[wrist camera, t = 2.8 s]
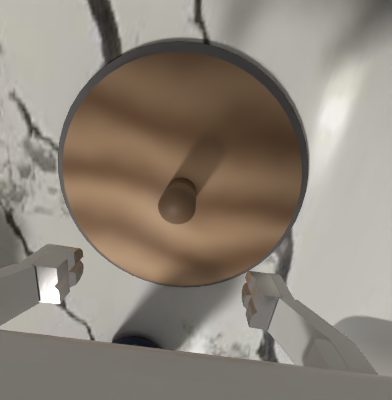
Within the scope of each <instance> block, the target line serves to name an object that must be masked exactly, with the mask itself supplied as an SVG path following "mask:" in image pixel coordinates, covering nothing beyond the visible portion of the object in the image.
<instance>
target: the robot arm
mask: <svg viewBox="0 0 392 400" xmlns="http://www.w3.org/2000/svg"><path fill="white" fill-rule="evenodd" d="M82 257H83V251H82V250H81V249H80V248H73V247H67V246H59V245H53V244H47V245H45V246H44V247H42V248H41V249H39V250H38V251H36V252H35V253H33V254H32V255H31V256H29V257H28V258H26V259H25V260H23V261H22V262H20V263H19V264H12V265H8V266H5V267H2V268H0V326H1V325H2V324H4V323H6V322H7V321H9V320H11V319H13V318H14V317H16V316H18V315H19V314H21V313H23V312H24V311H26V310H28V309H30V308H31V307H33V306H35V305H36V304H38V303H39V302H48V303H59V304H60V303H61V302H62V300H63V299H64V298H65V297H66V296H67V295H68V293H69V292H70V287H72V286H74V285H76V284H77V283H78V281H79V280H80V278H81V276H82V274H83V263H82V262H81V261H80V259H81V258H82ZM245 278H246V281H247V283H245V284H244V285H243V289H242V302H243V306H244V307H245V308H246V309H247V310H246V318H247V321H248V325H249V327H251V328H258V329H264V330H268V332H269V333H270V334H271V336H272V337H273V338H274V339H275V341H276V342H277V343H278V344H279V345H280V347H281V348H282V349H283V350H284V352H285V353H286V354H287V355H288V357H289V358H290V359H291V360H292V361H293V363H294V364H295V365H291V364H283V363H275V362H266V361H258V360H249V359H241V358H232V357H224V356H216V355H208V354H200V353H191V352H183V351H175V350H167V349H158V348H150V347H141V346H133V345H125V344H116V343H108V342H100V341H91V340H83V339H75V338H66V337H58V336H50V335H41V334H33V333H24V332H16V331H8V330H0V400H392V377H391V376H382V375H378V373H377V372H376V371H375V369H374V368H373V367H372V366H371V364H370V363H369V362H368V360H367V359H366V357H365V356H364V355H363V353H362V352H361V351H360V349H359V348H358V347H357V345H356V344H355V343H354V342H353V341H352V340H350V339H349V338H347V337H346V336H345V335H343V334H342V333H341V332H339V331H338V330H337V329H336V328H334V327H333V326H332V325H330V324H329V323H328V322H326V321H325V320H324V319H322V318H321V317H320V316H318V315H317V314H316V313H314V312H313V311H312V310H310V309H309V308H308V307H306V306H305V305H304V304H302V303H301V302H300V301H298V300H294V298H293V296H292V295H291V293H290V291H289V290H288V288H287V286H286V285H285V283H284V281H283V280H282V278H281V276H280V275H279V274H272V273H260V272H252V271H248V272H247V274H246V277H245Z"/></svg>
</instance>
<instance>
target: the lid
mask: <svg viewBox="0 0 392 400" xmlns="http://www.w3.org/2000/svg"><path fill="white" fill-rule="evenodd" d="M63 180H64V186H65V192H66V195H67V198H68V202H69V205H70V207H71V210H72V212H73V214H74V217H75V219H76V220H77V222H78V224H79V226H80V227H81V229H82V231H83V232H84V233H85V235H86V236H87V237H88V239H89V240H90V241H91V242H92V244H93V245H94V246H95V247H96V248H97V249H98V250H99V251H100V252H101V253H102V254H104V255H105V256H106V257H107V258H108V259H109V260H111V261H112V262H114V263H115V264H117V265H118V266H120V267H121V268H123V269H125V270H126V271H128V272H130V273H132V274H134V275H137V276H139V277H142V278H144V279H147V280H151V281H154V282H158V283H163V284H169V285H180V286H190V285H202V284H209V283H213V282H217V281H221V280H224V279H226V278H229V277H232V276H234V275H236V274H238V273H240V272H242V271H244V270H246V269H247V268H249V267H251V266H252V265H254V264H255V263H257V262H258V261H259V260H260V259H261V258H263V257H264V256H265V255H266V254H267V253H268V252H269V251H270V250H271V249H272V248H273V247H274V246H275V245H276V243H277V242H278V241H279V239H280V238H281V237H282V235H283V234H284V232H285V231H286V229H287V227H288V225H289V224H290V222H291V219H292V217H293V215H294V212H295V210H296V207H297V203H298V199H299V196H300V189H301V182H302V162H301V155H300V148H299V144H298V141H297V138H296V134H295V131H294V129H293V127H292V124H291V122H290V120H289V118H288V116H287V114H286V113H285V111H284V109H283V108H282V106H281V105H280V103H279V102H278V100H277V99H276V98H275V97H274V96H273V95H272V94H271V92H270V91H269V90H268V89H267V88H266V87H265V86H264V85H263V84H262V83H260V82H259V81H258V80H257V79H256V78H254V77H253V76H252V75H251V74H249V73H247V72H246V71H244V70H242V69H241V68H239V67H237V66H236V65H234V64H231V63H229V62H227V61H224V60H222V59H219V58H217V57H213V56H208V55H204V54H200V53H191V52H166V53H158V54H153V55H149V56H145V57H141V58H139V59H136V60H134V61H131V62H129V63H127V64H124V65H123V66H121V67H119V68H118V69H116V70H114V71H113V72H111V73H110V74H108V75H107V76H106V77H105V78H104V79H102V80H101V81H100V82H99V83H98V84H97V85H95V87H94V88H93V89H92V90H91V91H90V92H89V94H88V95H87V96H86V97H85V98H84V100H83V101H82V103H81V104H80V106H79V108H78V109H77V111H76V112H75V114H74V117H73V119H72V121H71V124H70V126H69V128H68V132H67V136H66V140H65V144H64V151H63Z"/></svg>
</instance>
